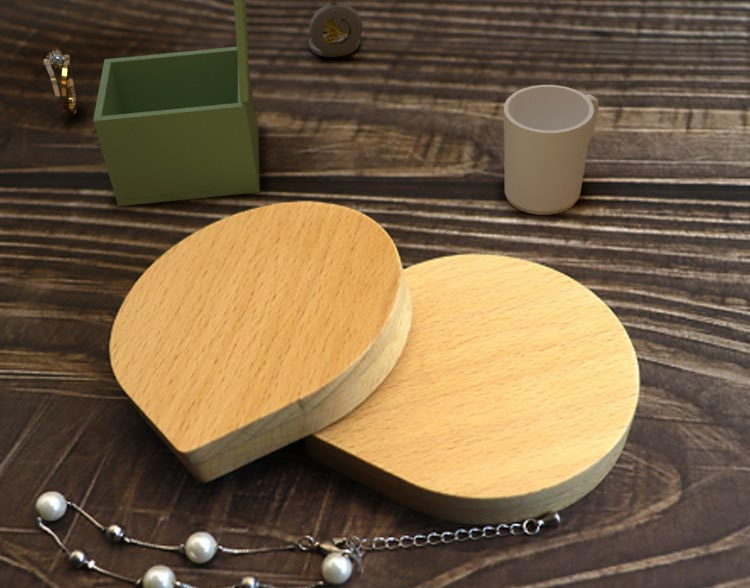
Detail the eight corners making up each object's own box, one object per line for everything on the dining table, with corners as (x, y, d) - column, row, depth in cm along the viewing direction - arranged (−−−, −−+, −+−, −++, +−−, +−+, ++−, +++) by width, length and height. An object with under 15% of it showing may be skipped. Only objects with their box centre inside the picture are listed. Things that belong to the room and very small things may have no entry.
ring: (65, 99, 128) (46, 40, 122) (90, 97, 128) (73, 38, 122) (55, 130, 123) (35, 70, 117) (81, 128, 123) (63, 68, 117)
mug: (535, 229, 105) (541, 143, 97) (483, 187, 110) (485, 103, 103) (616, 191, 108) (628, 106, 101) (562, 152, 114) (570, 69, 106)
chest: (117, 206, 111) (92, 120, 103) (126, 142, 120) (104, 59, 112) (259, 192, 112) (245, 106, 104) (258, 129, 120) (245, 45, 113)
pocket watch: (337, 29, 136) (331, -44, 129) (379, 50, 132) (375, -25, 124) (290, 52, 133) (281, -22, 125) (332, 75, 128) (325, -1, 121)
